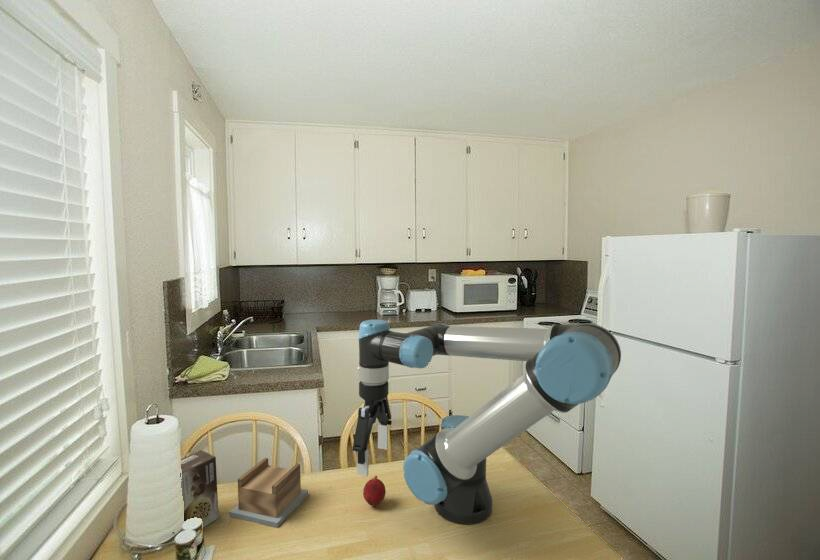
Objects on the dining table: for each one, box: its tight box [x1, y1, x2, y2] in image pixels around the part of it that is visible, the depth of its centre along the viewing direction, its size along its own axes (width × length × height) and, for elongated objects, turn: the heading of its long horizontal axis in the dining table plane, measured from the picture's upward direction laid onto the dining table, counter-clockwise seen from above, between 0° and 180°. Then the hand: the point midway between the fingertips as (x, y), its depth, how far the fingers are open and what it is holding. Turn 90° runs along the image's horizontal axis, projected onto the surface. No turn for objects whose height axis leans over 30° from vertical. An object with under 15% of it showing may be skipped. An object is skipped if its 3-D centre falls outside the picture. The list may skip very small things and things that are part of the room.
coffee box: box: [180, 449, 219, 528], centre depth 99 cm, size 9×6×16 cm
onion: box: [362, 474, 387, 507], centre depth 107 cm, size 6×6×8 cm
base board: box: [228, 488, 309, 529], centre depth 107 cm, size 14×14×1 cm
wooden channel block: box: [237, 457, 302, 518], centre depth 107 cm, size 11×11×8 cm
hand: (373, 460), depth 107 cm, fingers open, 13 cm apart
